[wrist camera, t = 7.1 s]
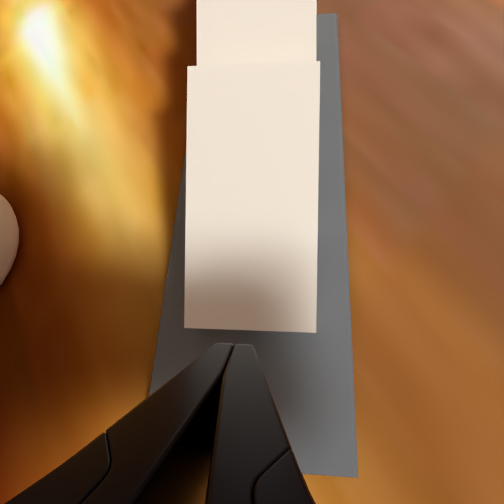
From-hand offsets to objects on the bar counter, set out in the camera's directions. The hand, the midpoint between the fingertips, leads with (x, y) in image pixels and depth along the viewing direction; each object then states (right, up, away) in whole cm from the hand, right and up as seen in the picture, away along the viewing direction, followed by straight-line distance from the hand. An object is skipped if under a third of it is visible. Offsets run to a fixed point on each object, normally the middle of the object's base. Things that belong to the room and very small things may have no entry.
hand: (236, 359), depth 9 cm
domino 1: (0, -1, +7) cm, 7 cm away
